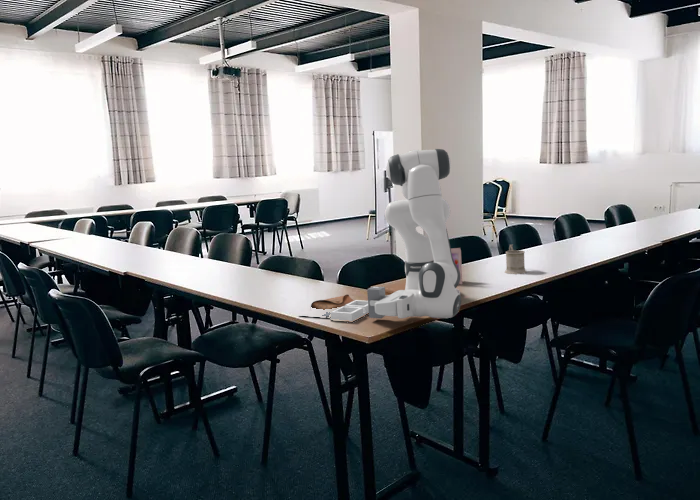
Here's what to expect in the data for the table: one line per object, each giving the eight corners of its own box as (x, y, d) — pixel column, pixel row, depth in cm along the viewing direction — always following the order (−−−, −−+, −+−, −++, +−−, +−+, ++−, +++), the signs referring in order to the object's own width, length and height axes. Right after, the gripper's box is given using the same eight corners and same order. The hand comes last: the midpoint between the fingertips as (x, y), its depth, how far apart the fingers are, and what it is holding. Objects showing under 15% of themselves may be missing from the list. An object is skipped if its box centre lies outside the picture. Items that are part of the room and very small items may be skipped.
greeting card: (436, 283, 250) (434, 250, 248) (441, 280, 257) (439, 247, 255) (461, 284, 245) (460, 250, 243) (466, 281, 252) (464, 247, 249)
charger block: (374, 314, 198) (373, 285, 197) (386, 315, 196) (384, 286, 195) (369, 317, 194) (367, 288, 193) (380, 318, 192) (379, 289, 191)
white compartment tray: (358, 306, 217) (357, 298, 217) (379, 308, 213) (378, 299, 212) (330, 321, 199) (329, 312, 199) (352, 322, 195) (352, 313, 194)
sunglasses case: (322, 313, 210) (316, 297, 212) (314, 320, 215) (308, 304, 217) (361, 304, 220) (355, 289, 222) (352, 311, 225) (346, 296, 227)
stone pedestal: (529, 273, 260) (528, 247, 258) (507, 274, 260) (506, 248, 258) (520, 268, 274) (519, 243, 272) (500, 269, 274) (499, 244, 273)
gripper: (422, 286, 197) (386, 285, 203) (399, 300, 179) (360, 298, 186) (423, 304, 198) (387, 302, 204) (400, 320, 180) (361, 317, 187)
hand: (374, 300), depth 195 cm, fingers closed on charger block, 4 cm apart
